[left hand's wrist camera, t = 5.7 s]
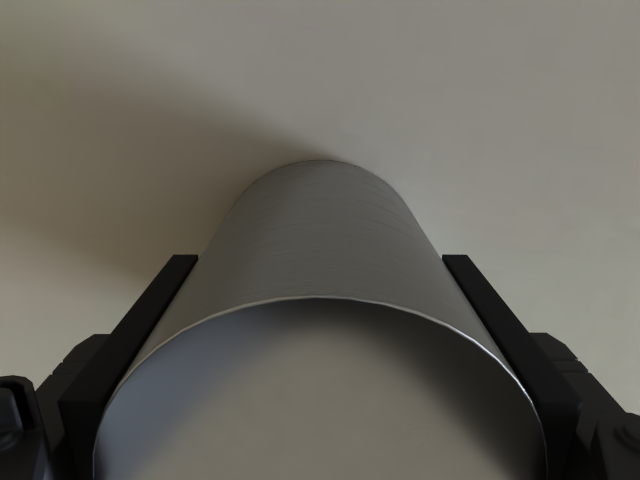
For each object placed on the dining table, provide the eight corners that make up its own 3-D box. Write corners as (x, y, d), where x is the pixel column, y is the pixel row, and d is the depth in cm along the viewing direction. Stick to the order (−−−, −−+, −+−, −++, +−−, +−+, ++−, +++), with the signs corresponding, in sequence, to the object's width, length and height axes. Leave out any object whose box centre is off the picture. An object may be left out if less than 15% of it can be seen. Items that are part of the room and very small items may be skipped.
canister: (229, 347, 18) (133, 638, 9) (208, 162, 15) (40, 300, 6) (415, 343, 18) (516, 633, 9) (426, 157, 15) (589, 289, 6)
